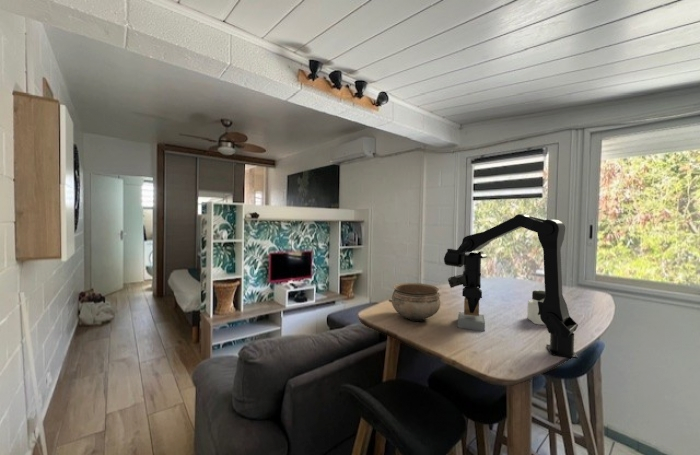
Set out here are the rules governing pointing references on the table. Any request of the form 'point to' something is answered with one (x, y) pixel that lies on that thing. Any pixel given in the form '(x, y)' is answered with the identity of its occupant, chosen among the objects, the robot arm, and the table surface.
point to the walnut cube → (467, 311)
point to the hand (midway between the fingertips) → (471, 310)
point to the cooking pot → (415, 300)
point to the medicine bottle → (535, 307)
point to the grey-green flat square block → (471, 321)
